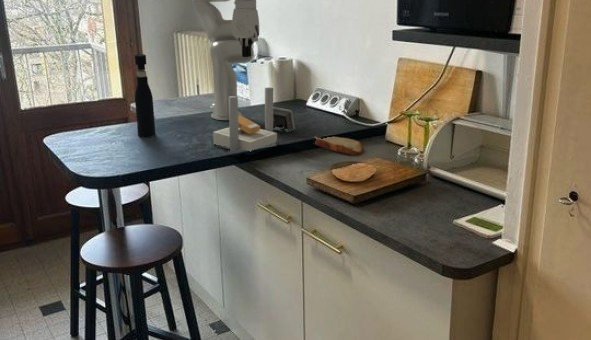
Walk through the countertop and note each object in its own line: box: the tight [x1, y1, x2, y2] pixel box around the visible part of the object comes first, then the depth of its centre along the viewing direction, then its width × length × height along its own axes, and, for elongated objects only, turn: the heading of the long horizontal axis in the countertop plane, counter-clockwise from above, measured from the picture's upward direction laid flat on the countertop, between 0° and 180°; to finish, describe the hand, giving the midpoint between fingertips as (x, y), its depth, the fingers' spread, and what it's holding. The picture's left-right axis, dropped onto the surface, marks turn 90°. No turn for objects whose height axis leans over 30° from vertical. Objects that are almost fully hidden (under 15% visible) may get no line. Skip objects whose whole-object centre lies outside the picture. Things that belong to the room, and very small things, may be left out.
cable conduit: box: [228, 96, 239, 151], centre depth 193 cm, size 5×5×20 cm
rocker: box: [238, 114, 261, 134], centre depth 202 cm, size 10×5×2 cm, turn 52°
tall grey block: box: [264, 86, 274, 132], centre depth 206 cm, size 5×5×20 cm
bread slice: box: [314, 136, 365, 156], centre depth 204 cm, size 18×18×4 cm
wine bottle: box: [134, 53, 156, 138], centre depth 210 cm, size 6×6×30 cm
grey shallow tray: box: [212, 127, 278, 152], centre depth 204 cm, size 18×14×6 cm
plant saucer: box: [328, 160, 365, 172], centre depth 178 cm, size 15×15×3 cm
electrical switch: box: [273, 106, 296, 131], centre depth 221 cm, size 9×5×9 cm, turn 57°
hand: (246, 56), depth 211 cm, fingers closed
